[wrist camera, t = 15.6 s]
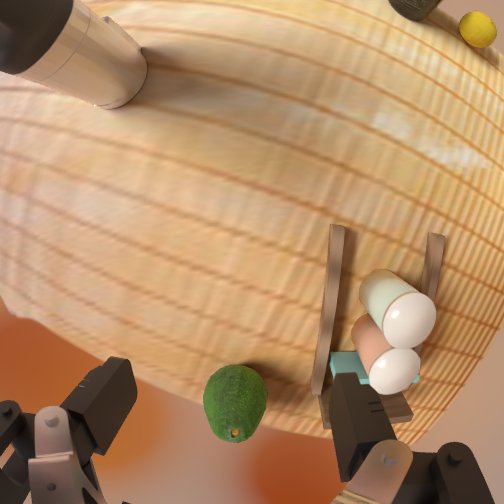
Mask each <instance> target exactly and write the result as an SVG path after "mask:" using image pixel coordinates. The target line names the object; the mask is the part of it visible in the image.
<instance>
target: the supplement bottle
mask: <svg viewBox="0 0 504 504" xmlns="http://www.w3.org/2000/svg"><path fill="white" fill-rule="evenodd" d="M388 1H389V3H390V4H391V6H392V7H393V8H394V9H395V10H396V11H397V12H398V13H400V14H401V15H403V16H405V17H407V18H409V19H412V20H417V21H420V20H424V19H426V18H427V17H428V16H429V15H430V14H431V13H432V12H433V11H434V10H435V9H436V8H437V7H438V5H439V4H440V3H441V2H442V1H443V0H388Z"/></svg>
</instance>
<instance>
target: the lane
mask: <svg viewBox="0 0 504 504" xmlns="http://www.w3.org/2000/svg"><path fill="white" fill-rule="evenodd" d="M344 234H345V227H343V226H341V225H331V224H330V235H329V247H328V258H327V268H326V278H325V287H324V295H323V304H322V311H321V319H320V326H319V333H318V340H317V347H316V353H315V359H314V365H313V371H312V377H311V383H310V387H311V394H312V395H318V398H319V404H320V410H321V416H322V422H323V428H324V429H331V424H330V419H329V402H330V397H331V392H332V387H333V385H323V381H324V376H325V371H326V365H327V360H328V355H329V349H330V343H331V338H332V331H333V325H334V319H335V312H336V305H337V298H338V290H339V282H340V274H341V265H342V256H343V245H344ZM444 240H445V236H442V235H439V234H436V233H428V239H427V247H426V255H425V262H424V268H423V274H422V280H421V285H420V291H419V292H420V293H423V294H424V295H426V296H427V297H429V298H430V299H431V300H432V302H433V303H434V299H435V294H436V289H437V284H438V279H439V273H440V268H441V261H442V255H443V248H444ZM423 342H424V341H423ZM423 342H422V343H420V344H419V345H417V346H415V347H413V348H412V349H413V350H414V351H415V352H416V353H417V355H418V356H420V353H421V349H422V346H423ZM408 388H409V386H408V387H406V388H405V389H403V390H408ZM378 394H379V397H380V399H381V403H382V404H383V406H384V409H385V411H386V413H387V416H388V418H389V421H390V423H391V424H396V423H403V422H409V421H411V420H412V418H413V415H414V414H413V412H412V410H411V409H410V407H409V405H408V403H407V401H406V399H405V397H404V396H403V394H402V392H401V391H400V392H397V393H394V394H389V395H384V394H380V393H378Z"/></svg>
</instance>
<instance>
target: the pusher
mask: <svg viewBox="0 0 504 504" xmlns="http://www.w3.org/2000/svg"><path fill="white" fill-rule="evenodd" d="M328 360H329V364H330V367H331V371H332V375H333V378H334V377H335V374H336V373H346V372H356V373H357V375H358V378H359V381H360V383H361V384H369V385H371V384H370V382H369V379H368V375H367V373H366V370H365V368H364V366H363V364H362V361H361V359H360V357H359V355H358V353H357V352H330V353H329V358H328ZM419 377H420V373H418V375H417V377H416V378H415V380H414V381H413V382H412V383H417V382H418V380H419Z"/></svg>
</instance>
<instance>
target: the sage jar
mask: <svg viewBox="0 0 504 504" xmlns="http://www.w3.org/2000/svg"><path fill="white" fill-rule="evenodd" d="M359 298H360V301H361V303H362V305H363V306H364V308H365V309H366V310H367V312H368V313H369V314H370V316H371V317H372V319H373V320H374V321H375V323H376V324H377V325H378V327H379V328H380V329H381V331H382V332H383V334H384V337H385V338H386V340H387V341H388V342H389V344H390V345H392V346H393V347H395V348H397V349H410V348H413V347H415V346H417V345H419V344H420V343H422V342H423V341H424V340H425V339H426V338H427V337H428V336H429V334H430V333H431V331H432V329H433V327H434V324H435V321H436V308H435V305H434V303H433V302H432V300H431V299H430V298H429V297H427V296H426V295H424V294H423V293H420V292H419V291H417V290H416V289H415V288H413V287H412V286H410V285H409V284H408V283H406V282H405V281H404V280H402V279H401V278H399V277H398V276H397V275H395V274H394V273H392V272H391V271H388V270H384V269H380V270H376V271H373V272H372V273H370V274H369V275H367V277H366V278H365V279H364V280H363V282H362V284H361V286H360V290H359Z"/></svg>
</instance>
